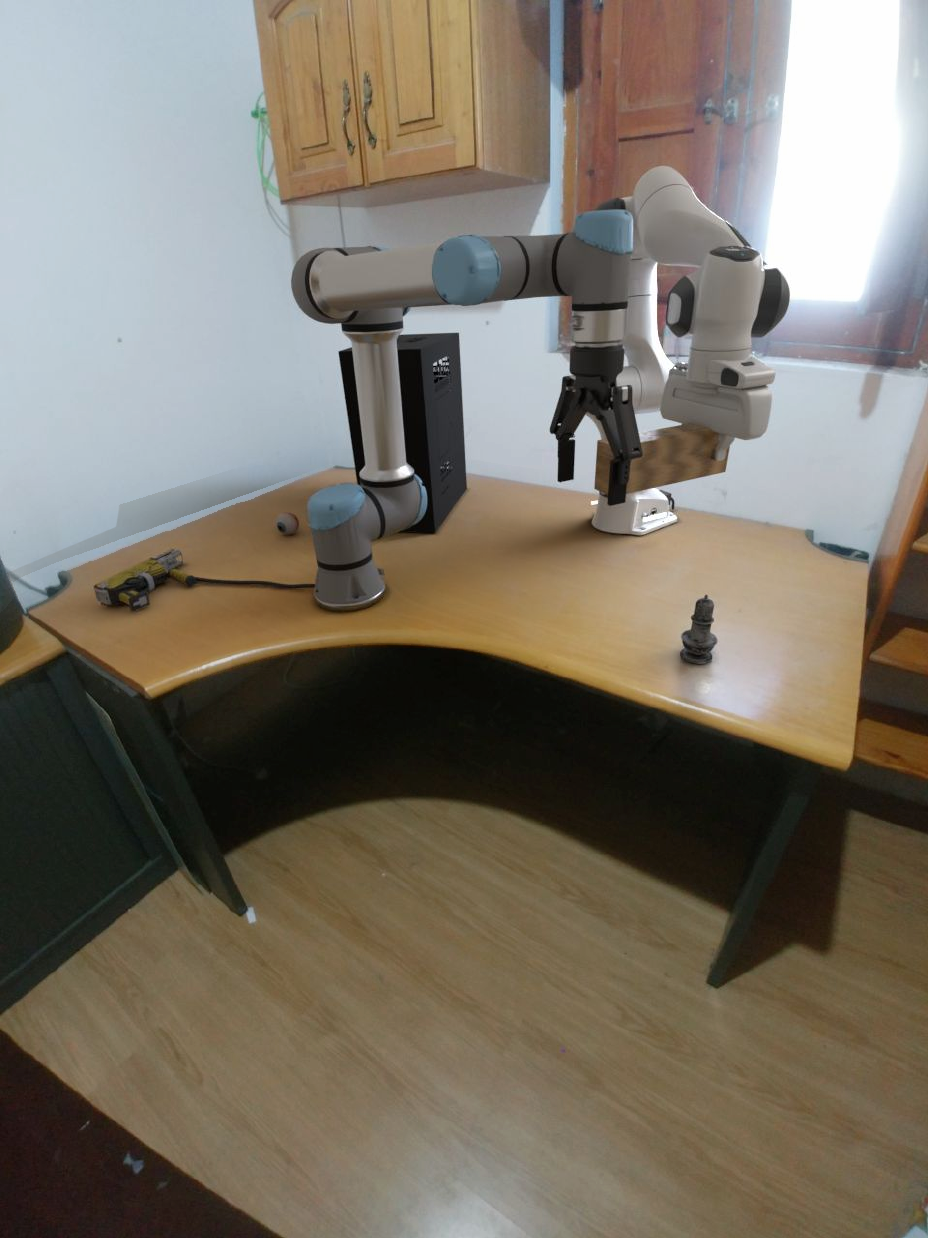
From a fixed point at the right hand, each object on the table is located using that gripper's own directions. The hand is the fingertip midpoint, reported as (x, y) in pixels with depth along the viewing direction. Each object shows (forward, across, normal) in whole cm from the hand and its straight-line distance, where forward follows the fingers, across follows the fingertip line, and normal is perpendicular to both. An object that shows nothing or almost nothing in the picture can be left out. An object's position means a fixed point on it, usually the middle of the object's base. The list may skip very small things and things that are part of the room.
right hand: (703, 455), depth 101 cm
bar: (+3, 0, -9) cm, 9 cm away
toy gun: (+31, -68, -92) cm, 119 cm away
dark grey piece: (+31, +12, -8) cm, 34 cm away
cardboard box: (+32, -86, -22) cm, 94 cm away
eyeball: (+32, -85, -60) cm, 109 cm away
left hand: (+2, 0, -23) cm, 23 cm away
